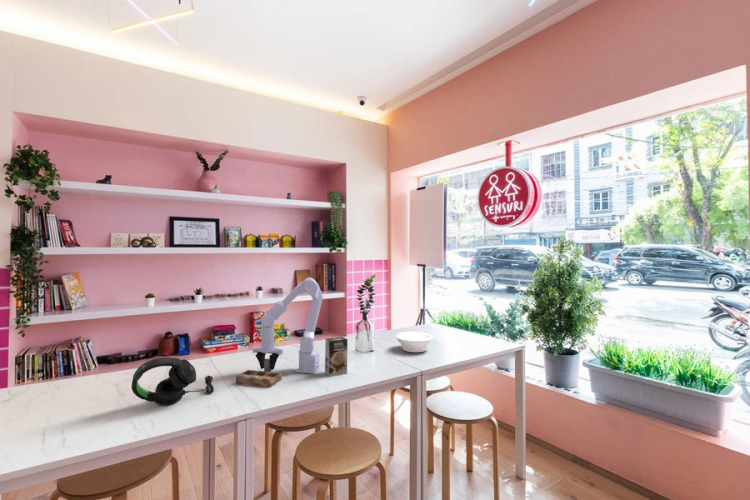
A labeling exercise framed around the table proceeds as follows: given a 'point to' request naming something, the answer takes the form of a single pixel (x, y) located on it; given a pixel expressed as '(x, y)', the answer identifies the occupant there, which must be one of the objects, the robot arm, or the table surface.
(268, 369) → the peg
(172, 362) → the headset
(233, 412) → the table surface
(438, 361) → the table surface
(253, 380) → the socket block
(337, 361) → the coffee box
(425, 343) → the bowl
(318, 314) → the robot arm
